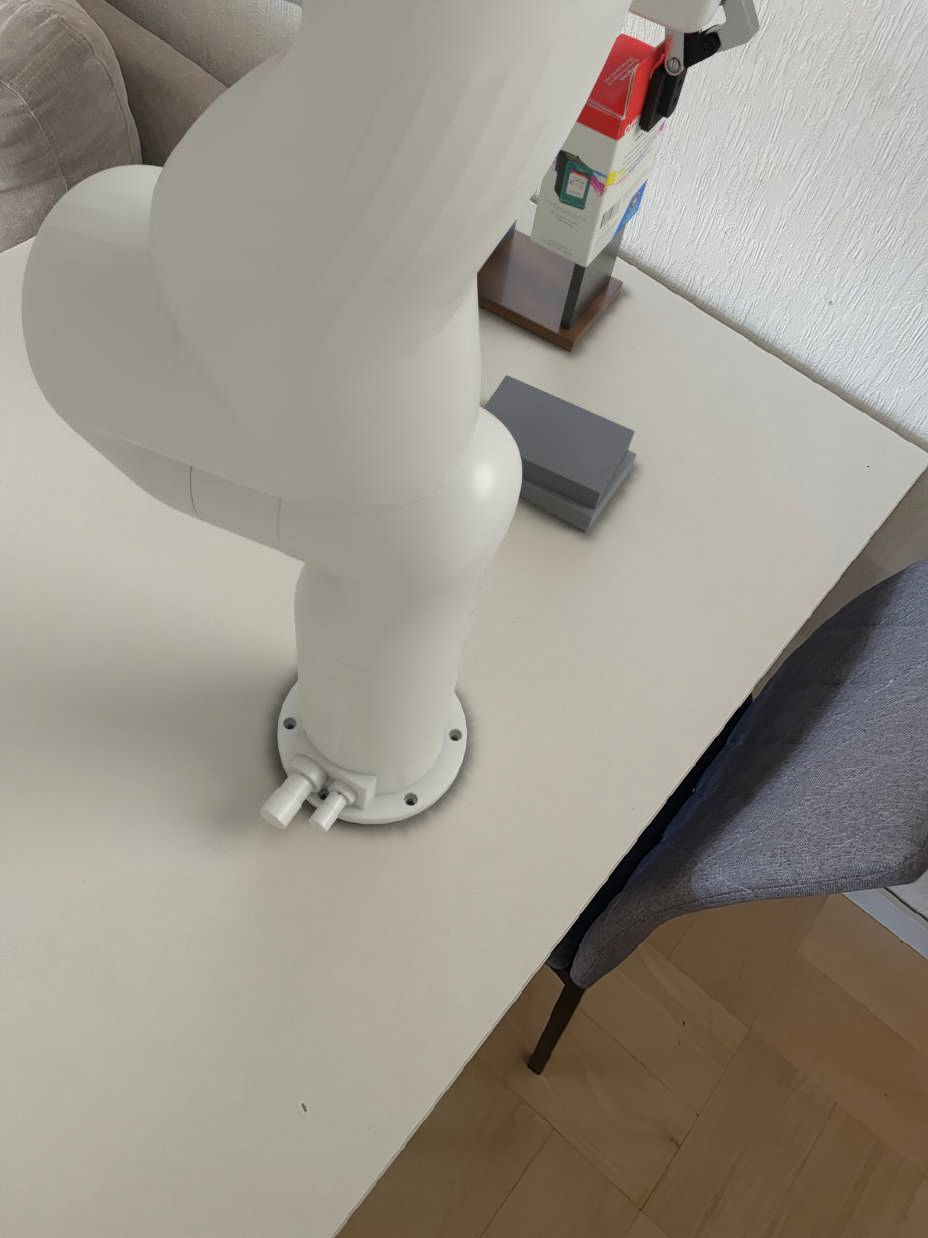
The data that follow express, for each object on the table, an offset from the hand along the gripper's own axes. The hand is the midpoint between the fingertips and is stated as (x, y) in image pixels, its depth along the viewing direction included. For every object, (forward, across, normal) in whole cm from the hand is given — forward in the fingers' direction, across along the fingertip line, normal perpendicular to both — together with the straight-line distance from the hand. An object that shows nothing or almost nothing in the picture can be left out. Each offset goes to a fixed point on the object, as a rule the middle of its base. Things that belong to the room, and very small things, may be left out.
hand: (615, 100), depth 67 cm
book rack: (+26, -12, +10) cm, 30 cm away
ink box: (+10, 0, 0) cm, 10 cm away
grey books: (+26, +5, -8) cm, 27 cm away
